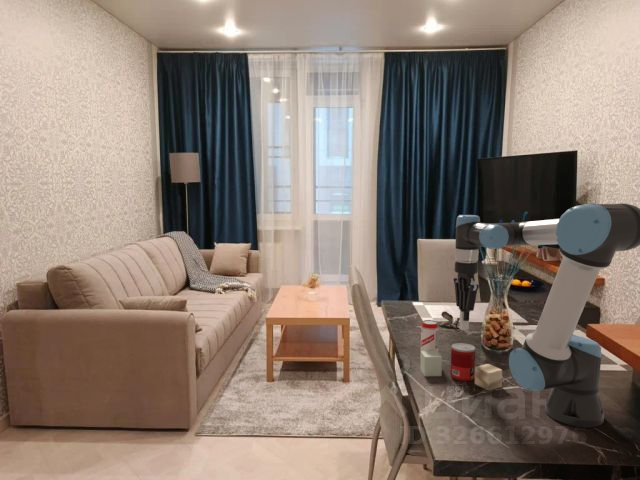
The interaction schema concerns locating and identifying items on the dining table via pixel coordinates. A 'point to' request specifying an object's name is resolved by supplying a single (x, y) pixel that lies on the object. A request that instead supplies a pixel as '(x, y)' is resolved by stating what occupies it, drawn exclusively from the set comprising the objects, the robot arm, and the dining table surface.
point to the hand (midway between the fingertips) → (464, 328)
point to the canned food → (462, 361)
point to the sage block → (431, 363)
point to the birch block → (488, 377)
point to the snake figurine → (450, 318)
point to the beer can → (429, 336)
